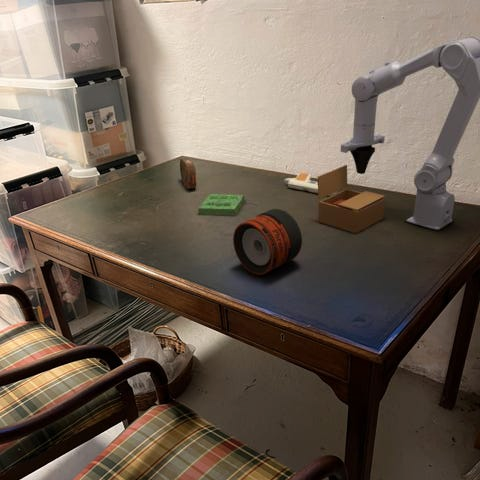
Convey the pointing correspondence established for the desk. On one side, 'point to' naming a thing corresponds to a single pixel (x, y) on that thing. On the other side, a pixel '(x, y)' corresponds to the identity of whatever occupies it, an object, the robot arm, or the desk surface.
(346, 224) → the carton
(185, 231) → the desk surface
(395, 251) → the desk surface
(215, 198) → the carved green slab
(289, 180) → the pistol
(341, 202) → the block
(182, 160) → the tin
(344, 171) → the flap
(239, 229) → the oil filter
